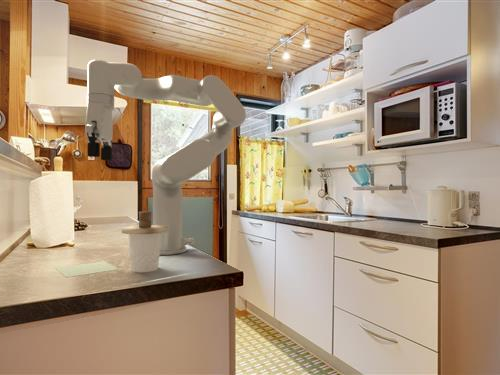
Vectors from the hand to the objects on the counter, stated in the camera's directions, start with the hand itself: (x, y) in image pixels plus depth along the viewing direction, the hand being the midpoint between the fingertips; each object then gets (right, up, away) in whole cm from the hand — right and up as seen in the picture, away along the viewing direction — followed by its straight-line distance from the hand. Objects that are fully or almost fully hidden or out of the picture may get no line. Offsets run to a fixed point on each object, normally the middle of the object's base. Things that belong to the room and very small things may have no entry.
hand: (100, 158), depth 96 cm
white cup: (+19, -30, -16) cm, 39 cm away
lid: (+19, -20, -16) cm, 32 cm away
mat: (+4, -30, -16) cm, 34 cm away
